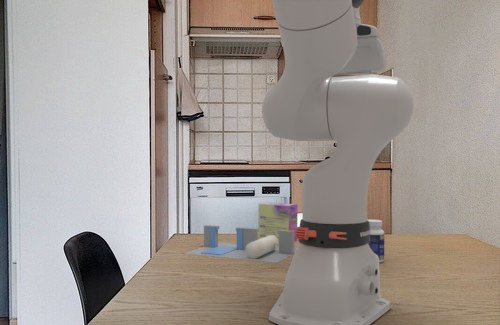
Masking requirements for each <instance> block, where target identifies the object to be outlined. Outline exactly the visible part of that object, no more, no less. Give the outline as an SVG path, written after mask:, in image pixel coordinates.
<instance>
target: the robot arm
mask: <svg viewBox="0 0 500 325" xmlns="http://www.w3.org/2000/svg"><path fill="white" fill-rule="evenodd" d="M364 1H365V0H271V5H272V7H273V14H274V16H275V17H274V18H275V21H276V24H277V27H278V32H279V36H280V39H281V40H280V41H281V44H282V45H281V46H282V49H283V54H284V68H283V71H282V75H281V77H280V78H279V80H278V81H276V83H274V84H273V85H272V86H271V87H270V88H269V90H268V91H267V92H266V93H265V96H264V98H263V102H262V105H261V106H262V108H261V114H262V120H263V122H264V125H265V127H266V128H267V130H268V132H269V133H270V134H271V135H272V136H274V138H280V139H283V140H284V139H285V140H290V141H296V142H315V141H316V142H318V141H319V142H321V141H324V142H325V141H333V142H334V141H335V142H336V147H335V150H334V153H333V154H332V155H331V156H330V157H329V158H327V159H324V160H322V161H320V162H319V163H316V164H315V165H313V166H311V168H309V169H308V170H307V172H306V173H305V174H304V176H303V178H302V185H301V186H302V187H301V188H302V189H301V190H302V198H301V200H302V203H301V204H302V206H301V207H302V208H301V211H302V215H301V216H302V219H301V220H300V222H299V226H297V228H296V229H297V230H296V231H295V232H296V233H295V234H296V235H295V236H296V239H297V241H298V242H299V243H298V246H297V247H296V248H295V249H296V250H295V254H293V255H292V256H293V257H292V260H291V261H290V265H289V267H288V270H287V273H286V275H285V278H284V283H283V284H284V285H283V290H282V292H281V293H280V295H279V297H278V298H277V300H276V302H275V303H274V305H273V306H272V308H271V309H270V311H269V313H268V321H270V322H272V323H274V324H277V325H372V323H373V322H375V321H376V320H378V319H379V318H380V317H382V316H383V315H385V314H386V313H387V312H388V311H389V310H391V308H392V305H391V301H390V300H388V299H385V298H383V297H381V296H382V295H381V279H380V278H381V276H380V263H379V257H378V256H377V255H376V254H375V253H374V252H373V251H372V250H371V248H370V246H369V244H368V243H369V242H370V223H369V221H368V220H369V219H368V197H369V196H368V195H369V185H370V184H369V183H370V177H371V174H372V170H373V167H374V165H375V162H376V160H377V159H378V157H379V155H380V154H381V152H382V151H383V150H384V149H385V148H386V146H387V145H388V144H389V143H391V142H392V140H394V139H395V138H396V137H398V136H399V135H400V134H402V133H403V132H404V130H406V128H407V127H408V125H409V124H410V122H411V119H412V117H413V113H414V99H413V95H412V92H411V91H410V90H411V89H410V88H409V86H408V85H407V84H406V82H404V80H402V78H400V77H397V76H390V75H381V74H372V73H382V72H384V71H385V70H386V69H387V54H386V51H385V47H384V44H383V42H382V40H381V39H382V35H381V31H380V30H379V28H377V27H376V26H374V25H369V24H363V23H362V19H361V16H360V9H361V6H362V4H363V3H364Z"/></svg>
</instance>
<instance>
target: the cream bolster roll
mask: <svg viewBox="0 0 500 325" xmlns="http://www.w3.org/2000/svg"><path fill="white" fill-rule="evenodd" d="M277 247H279V241H278V239H277V237H275V236H274V235H269V236H266V237H264V238H261V239H259V240H256V241H253V242H251V243H249V244H247V246H246V249H245V251H246V254H247V256H248V257H249V258H251V259H256V258H258V257H260V256H262V255H264V254H267V253H269V252H271V251H273V250H275V249H277Z"/></svg>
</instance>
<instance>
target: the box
mask: <svg viewBox="0 0 500 325" xmlns="http://www.w3.org/2000/svg"><path fill="white" fill-rule="evenodd" d="M298 207H299V206H298V204H296V203H280V202H261V203H258V221H257V222H258V228H259V232H258V240H259V239H261V238H264V237H266V236H269V235H274V236H275V237H277V239H278V241H279V234H277V231H278V230H289V231H294V243H296V242H297V241H298V239H296V236H295V235H296V234H295V233H296V232H295V231H296V230H297V229H296V228H297V227H298Z"/></svg>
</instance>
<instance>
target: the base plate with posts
mask: <svg viewBox="0 0 500 325" xmlns="http://www.w3.org/2000/svg"><path fill="white" fill-rule="evenodd" d="M219 229H220V225H212V224H205V225H203V246H201V247H198V248H195V249H192V250H189V251H186V252H183V255H192V256H193V255H194V256H204V257H215V258H223V259H234V260H242V261H243V260H245V261H254V262H264V263H273V264H274V263H275V264H278V263H280V262H282V261H283V260H284V261H285V259H288V258H289V257H291V256H294V254H295V250H296V249H297V248H295V242H294V231H289V230H278V231H277V234H279V245H278V247H277V249H275V250H273V251H271V252H269V253H267V254H264V255H262V256H260V257H258V258H256V259H251V258H249V257H248V256H247V254H246V251H245V249H246V246H247V244H249V243H251V242H253V241H256V240H258V232H259V228H256V227H244V226H243V227H241V226H240V227H239V226H238V227H235V231H236V242H235V243H233V242H220V241H219Z"/></svg>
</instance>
